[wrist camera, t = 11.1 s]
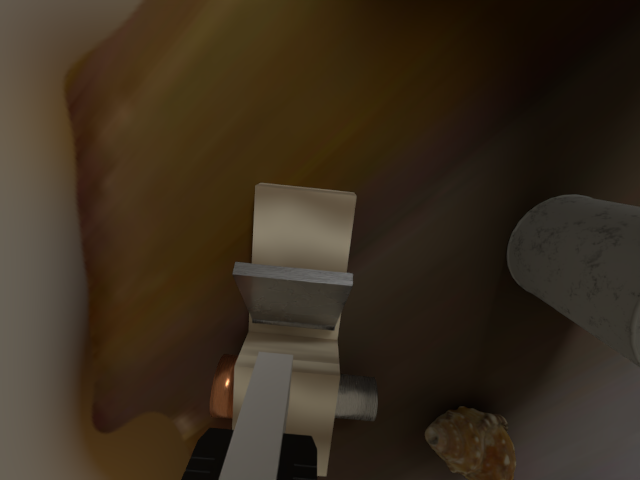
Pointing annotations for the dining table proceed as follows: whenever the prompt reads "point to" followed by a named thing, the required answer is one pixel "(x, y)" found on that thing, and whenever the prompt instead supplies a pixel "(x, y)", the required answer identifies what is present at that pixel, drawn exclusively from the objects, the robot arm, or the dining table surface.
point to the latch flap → (293, 295)
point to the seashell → (473, 444)
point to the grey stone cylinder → (584, 265)
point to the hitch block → (303, 343)
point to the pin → (352, 398)
